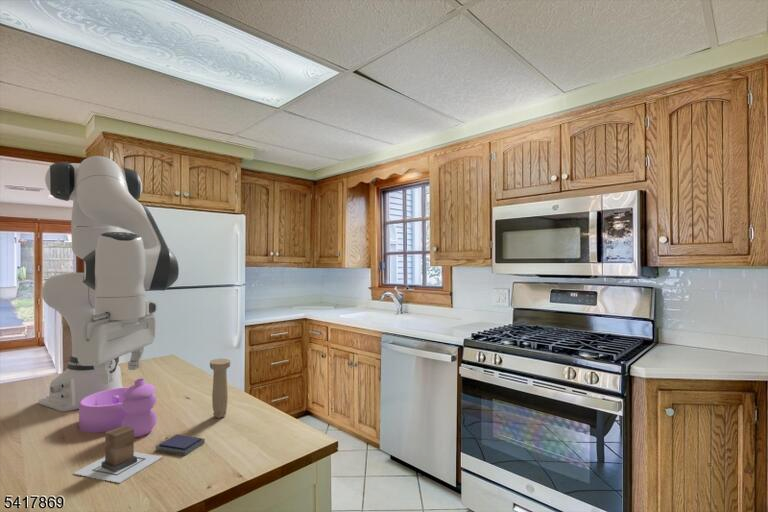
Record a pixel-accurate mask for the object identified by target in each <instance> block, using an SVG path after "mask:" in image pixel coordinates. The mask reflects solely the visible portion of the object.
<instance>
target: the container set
mask: <svg viewBox="0 0 768 512" xmlns="http://www.w3.org/2000/svg"><path fill="white" fill-rule="evenodd" d="M122 387H123V388H115V389H110V390H105V391H101V392H97V393H94V394H91V395H89V396H87V397H85V398H83V399H82V400H80V402H79V409H78V429H79V430H80V431H81V432H84V433H105V432H108V431H111V430H113V429H116V428H119V427H122V426H126V427H129V428H132V429H134V438H137V437H143V436H145V435H148V434H150V433H151V432H152V431H153V429H154V428H155V426H156V425H157V422H158V418H157V414H156V412H155V411H154V410H153V408H154V407H155V405H156V404H157V401H158V400H157V395H156V394H154V393H156V392H155V391H156V387H155V385H153V384H151V383H147V382H146V378H136V379H134V384H133V385H130V386H122Z"/></svg>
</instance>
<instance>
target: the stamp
mask: <svg viewBox="0 0 768 512" xmlns="http://www.w3.org/2000/svg"><path fill="white" fill-rule="evenodd" d="M104 433H105V434H104V435H105V436H104V439H105V442H104V445H105V446H104V447H105V450H104V453H105V455H104V457H105V461H103V462H102V466H101V467H103V468H105V469H107V470H110V471H112V472H116V471H118V470H120V469H123V468H125V467H127V466H129V465H131V464H134V463H136V462H137V457H135V456H134V452H135V451H134V448H135V444H134V443H135V440H134V439H135V437H134V429H132V428H129V427H126V426H122V427H119V428H116V429H113V430H111V431H107V432H104Z"/></svg>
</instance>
